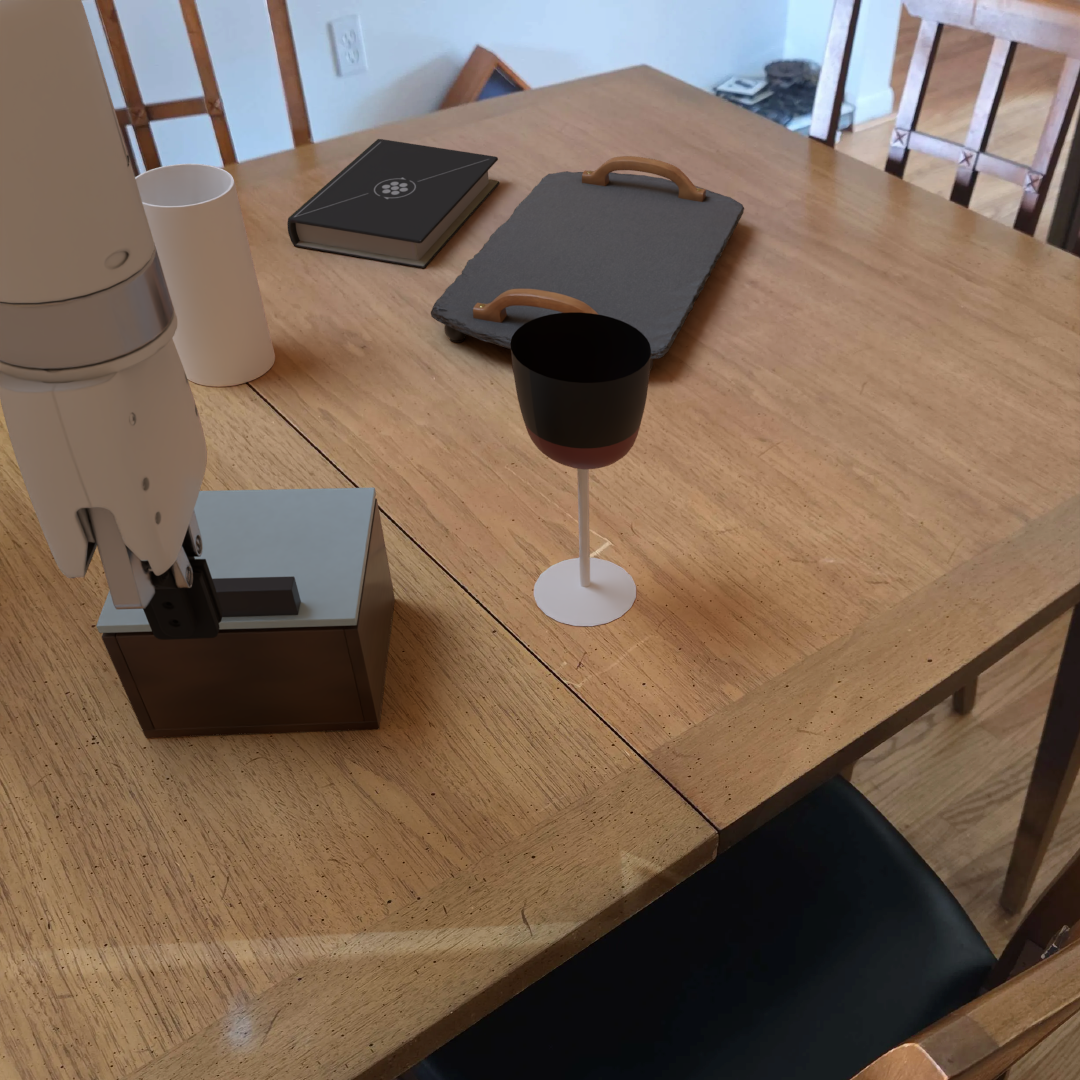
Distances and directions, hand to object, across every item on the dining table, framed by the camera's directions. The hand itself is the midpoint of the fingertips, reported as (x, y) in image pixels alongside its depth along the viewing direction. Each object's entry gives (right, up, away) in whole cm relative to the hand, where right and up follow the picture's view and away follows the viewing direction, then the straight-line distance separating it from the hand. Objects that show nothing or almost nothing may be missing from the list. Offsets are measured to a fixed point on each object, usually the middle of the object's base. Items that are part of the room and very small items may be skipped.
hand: (190, 627), depth 60 cm
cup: (-15, +26, +44) cm, 53 cm away
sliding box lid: (-1, +5, +12) cm, 13 cm away
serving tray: (+18, +38, +57) cm, 71 cm away
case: (-2, -2, +18) cm, 18 cm away
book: (-5, +48, +66) cm, 81 cm away
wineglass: (+19, +4, +25) cm, 31 cm away
